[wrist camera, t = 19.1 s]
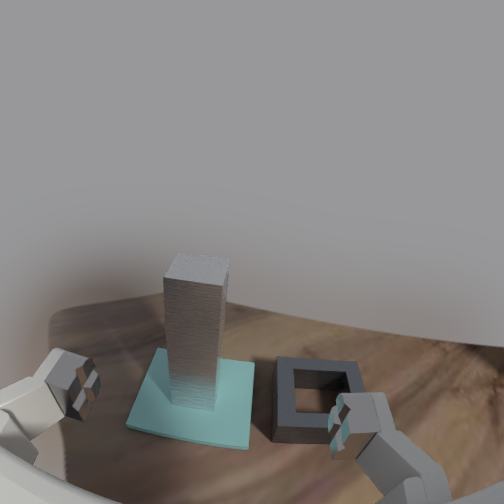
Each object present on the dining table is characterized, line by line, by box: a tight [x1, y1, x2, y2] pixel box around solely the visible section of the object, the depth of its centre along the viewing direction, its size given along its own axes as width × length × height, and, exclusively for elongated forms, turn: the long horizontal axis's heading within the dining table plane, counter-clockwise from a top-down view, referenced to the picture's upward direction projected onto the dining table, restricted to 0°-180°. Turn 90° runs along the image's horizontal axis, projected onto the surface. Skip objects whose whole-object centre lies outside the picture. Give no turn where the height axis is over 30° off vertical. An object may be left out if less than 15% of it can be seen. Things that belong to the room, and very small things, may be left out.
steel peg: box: [163, 252, 230, 412], centre depth 24 cm, size 4×4×14 cm
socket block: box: [272, 356, 366, 444], centre depth 27 cm, size 9×9×3 cm
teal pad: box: [126, 348, 255, 450], centre depth 27 cm, size 11×11×1 cm
